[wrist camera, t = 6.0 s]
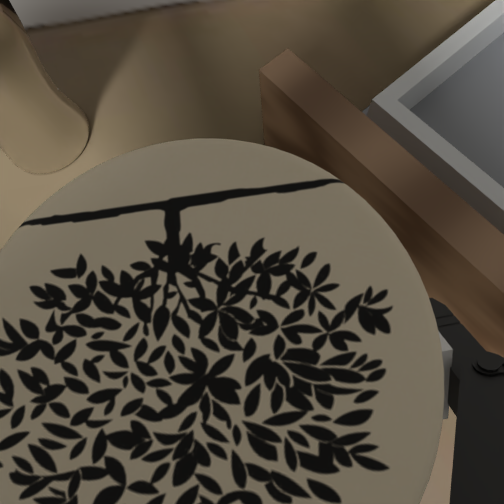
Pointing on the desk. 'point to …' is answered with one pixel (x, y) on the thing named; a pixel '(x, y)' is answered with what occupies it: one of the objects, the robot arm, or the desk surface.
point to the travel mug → (214, 338)
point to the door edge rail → (392, 193)
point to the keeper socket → (455, 112)
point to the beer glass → (34, 106)
